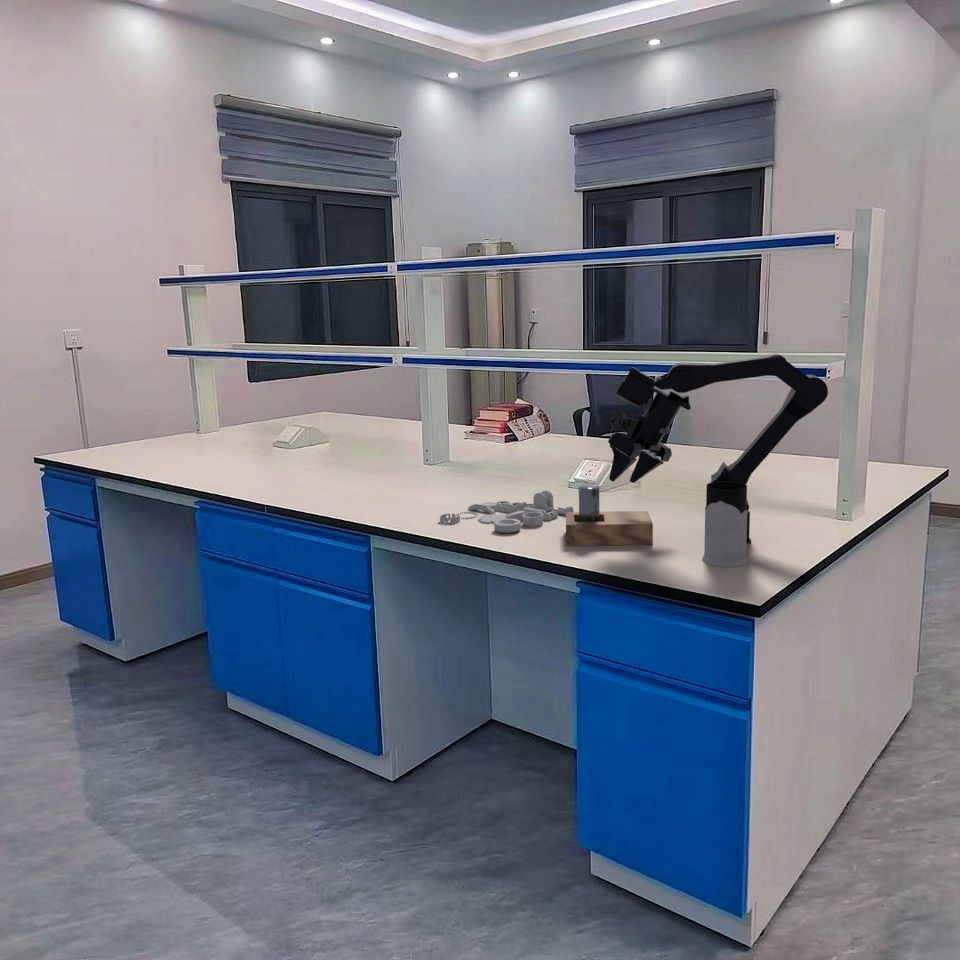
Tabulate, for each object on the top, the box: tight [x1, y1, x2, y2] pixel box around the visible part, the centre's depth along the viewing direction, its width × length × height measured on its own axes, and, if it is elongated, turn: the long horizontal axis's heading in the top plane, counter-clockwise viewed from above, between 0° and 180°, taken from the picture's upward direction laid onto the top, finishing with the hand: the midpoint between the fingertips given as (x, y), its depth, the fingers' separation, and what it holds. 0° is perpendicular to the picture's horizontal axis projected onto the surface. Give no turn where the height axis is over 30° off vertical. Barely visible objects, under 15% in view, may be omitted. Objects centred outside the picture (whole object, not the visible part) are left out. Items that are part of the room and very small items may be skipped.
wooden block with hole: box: [565, 510, 654, 547], centre depth 187 cm, size 18×11×4 cm, turn 85°
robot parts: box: [439, 489, 574, 534], centre depth 207 cm, size 25×25×5 cm
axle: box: [578, 485, 601, 522], centre depth 186 cm, size 4×4×10 cm
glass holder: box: [701, 481, 749, 568], centre depth 169 cm, size 9×14×15 cm, turn 149°
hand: (621, 481), depth 185 cm, fingers open, 9 cm apart
